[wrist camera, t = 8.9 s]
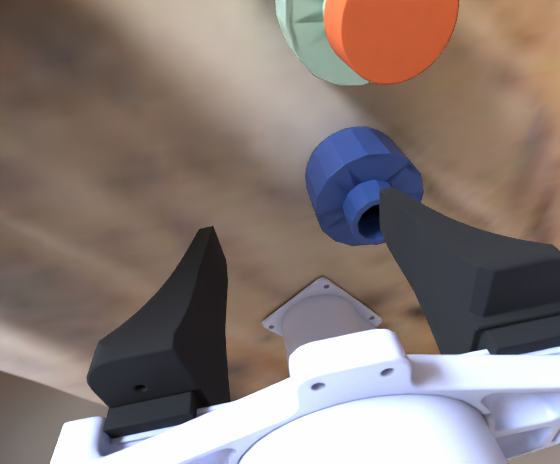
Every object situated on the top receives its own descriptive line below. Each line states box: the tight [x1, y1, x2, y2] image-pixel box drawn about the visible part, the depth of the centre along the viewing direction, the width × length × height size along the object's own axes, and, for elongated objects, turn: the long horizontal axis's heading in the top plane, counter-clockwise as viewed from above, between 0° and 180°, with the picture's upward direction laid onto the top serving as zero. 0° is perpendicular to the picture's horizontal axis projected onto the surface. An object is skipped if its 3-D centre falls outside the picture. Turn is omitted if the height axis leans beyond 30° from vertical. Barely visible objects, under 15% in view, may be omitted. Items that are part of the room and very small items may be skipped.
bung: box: [324, 0, 459, 85], centre depth 14 cm, size 4×4×4 cm
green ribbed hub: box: [275, 0, 370, 86], centre depth 17 cm, size 7×7×6 cm
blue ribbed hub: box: [305, 127, 424, 246], centre depth 24 cm, size 7×7×6 cm
